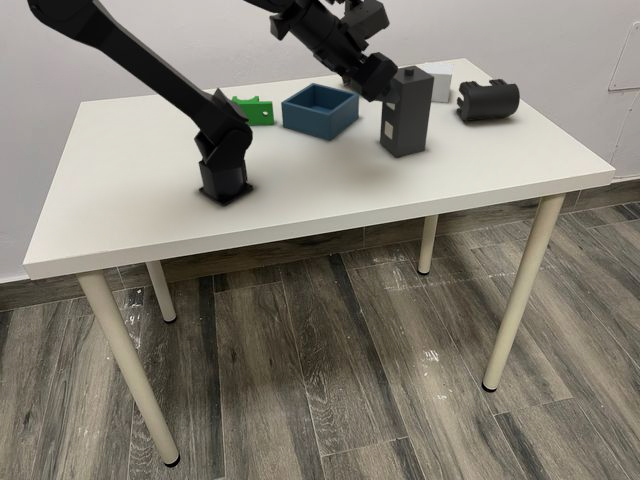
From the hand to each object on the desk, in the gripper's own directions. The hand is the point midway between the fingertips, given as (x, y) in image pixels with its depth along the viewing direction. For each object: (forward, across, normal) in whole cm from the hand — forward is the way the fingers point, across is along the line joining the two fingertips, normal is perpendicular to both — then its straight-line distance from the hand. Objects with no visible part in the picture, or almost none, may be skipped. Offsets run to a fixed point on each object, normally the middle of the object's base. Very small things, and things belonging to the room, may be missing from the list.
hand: (383, 90), depth 78 cm
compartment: (+5, +16, +12) cm, 20 cm away
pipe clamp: (-4, +22, +21) cm, 31 cm away
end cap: (+26, +3, -10) cm, 28 cm away
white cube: (+24, +16, -8) cm, 30 cm away
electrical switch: (+15, +26, +2) cm, 30 cm away
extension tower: (+12, 0, +5) cm, 13 cm away
